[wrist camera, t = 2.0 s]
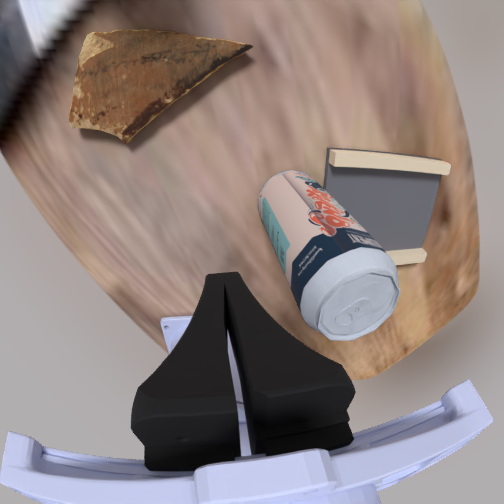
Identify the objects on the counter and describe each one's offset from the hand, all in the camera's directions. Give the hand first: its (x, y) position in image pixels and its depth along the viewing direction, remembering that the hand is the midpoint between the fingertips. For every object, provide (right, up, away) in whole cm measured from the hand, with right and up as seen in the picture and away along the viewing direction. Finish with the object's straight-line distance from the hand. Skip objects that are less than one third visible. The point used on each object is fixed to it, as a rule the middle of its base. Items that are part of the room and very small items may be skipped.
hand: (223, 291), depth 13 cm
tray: (+12, +5, +11) cm, 17 cm away
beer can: (+4, +6, +9) cm, 12 cm away
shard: (-6, +14, +3) cm, 16 cm away
